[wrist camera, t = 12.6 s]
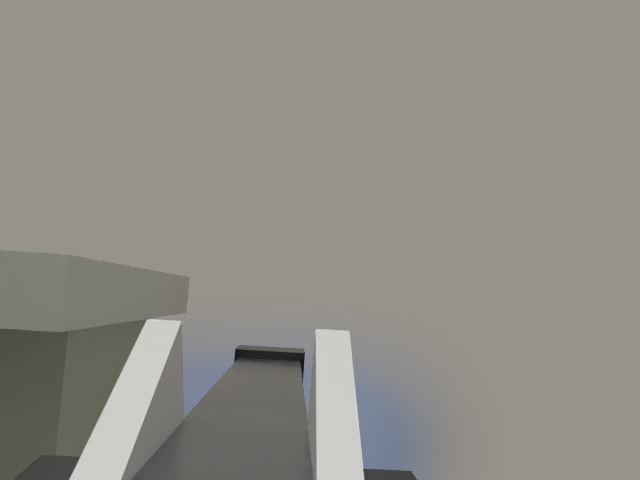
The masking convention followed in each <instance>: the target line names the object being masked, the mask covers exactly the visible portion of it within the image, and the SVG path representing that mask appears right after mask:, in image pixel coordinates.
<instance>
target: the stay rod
mask: <svg viewBox="0 0 640 480" xmlns="http://www.w3.org/2000/svg"><path fill="white" fill-rule="evenodd" d="M304 356H305V352H304V349H297V348H280V347H263V346H245V345H239V346H238V347H237V348H236V349H235V361H234V364H233V365H232V366H231V367H230V368H229V369H228V370H227V372H226V373H225V374H224V375H223V376H222V377H221V378H220V379H219V381H218V382H217V383H216V384H215V385H214V386H213V387H212V388H211V389H210V391H209V392H208V393H207V394H206V395H205V396H204V397H203V398H202V399H201V401H200V402H199V403H198V404H197V405H196V406H195V407H194V408H193V410H192V411H191V412H190V413H189V414H188V415H187V416H186V417H185V418H184V420H183V422H182V423H181V424H180V425H179V426H178V427H177V428H176V430H175V431H174V432H173V433H172V434H171V435H170V436H169V437H168V439H167V440H166V441H165V442H164V443H163V444H162V445H161V446H160V448H159V449H158V450H157V451H156V452H155V453H154V454H153V456H152V457H151V458H150V459H149V460H148V461H147V462H146V463H145V465H144V466H143V467H142V468H141V469H140V470H139V471H138V472H137V474H136V475H135V476H134V477H133V478H132V479H131V480H313V471H312V462H311V454H310V445H309V436H308V422H307V413H306V405H305V398H304V389H303V372H304Z"/></svg>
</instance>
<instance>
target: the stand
mask: <svg viewBox="0 0 640 480" xmlns="http://www.w3.org/2000/svg"><path fill="white" fill-rule="evenodd" d="M188 288H189V277H185V276H180V275H174V274H169V273H164V272H158V271H153V270H147V269H142V268H137V267H130V266H126V265H120V264H115V263H110V262H104V261H98V260H93V259H87V258H82V257H76V256H71V255H62V254H47V253H32V252H17V251H2V250H0V480H14V479H15V478H16V476H18V475H19V474H20V473H21V472H22V471H23V470H24V469H26V468H27V467H28V466H29V465H30V464H31V463H32V462H34V461H35V460H36V459H37V458H38V457H39V456H40V455H57V456H77V457H81V455H82V453H83V450H84V448H85V446H86V444H87V442H88V440H89V438H90V436H91V434H92V432H93V430H94V428H95V426H96V424H97V422H98V420H99V417H100V415H101V413H102V411H103V409H104V407H105V405H106V403H107V401H108V399H109V397H110V395H111V393H112V391H113V389H114V387H115V385H116V382H117V380H118V378H119V376H120V374H121V372H122V370H123V368H124V366H125V364H126V362H127V360H128V358H129V356H130V354H131V352H132V349H133V347H134V345H135V343H136V341H137V339H138V337H139V335H140V333H141V331H142V329H143V327H144V325H145V323H146V321H147V319H150V318H155V317H161V316H168V315H175V314H180V313H186V311H187V300H188Z"/></svg>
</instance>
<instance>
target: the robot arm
mask: <svg viewBox="0 0 640 480" xmlns="http://www.w3.org/2000/svg"><path fill="white" fill-rule="evenodd" d="M182 362H183V361H182V322H181V321H171V320H154V319H147V321H146V323H145V325H144V327H143V329H142V331H141V333H140V335H139V337H138V339H137V341H136V343H135V345H134V347H133V349H132V352H131V354H130V356H129V358H128V360H127V362H126V364H125V366H124V368H123V370H122V372H121V374H120V376H119V378H118V380H117V382H116V385H115V387H114V389H113V391H112V393H111V395H110V397H109V399H108V401H107V403H106V405H105V407H104V409H103V411H102V413H101V415H100V417H99V420H98V422H97V424H96V426H95V428H94V430H93V432H92V434H91V436H90V438H89V440H88V442H87V444H86V446H85V448H84V450H83V453H82V455H81V457H77V456H57V455H40V456H39V457H38V458H37V459H36V460H35V461H34V462H32V463H31V464H30V465H29V466H28V467H27V468H26V469H24V470H23V471H22V472H21V473H20V474H19V475H18V476H16V478H15V479H14V480H131V479H132V478H133V477H134V476H135V475H136V474H137V472H138V471H139V470H140V469H141V468H142V467H143V466H144V465H145V463H146V462H147V461H148V460H149V459H150V458H151V457H152V456H153V454H154V453H155V452H156V451H157V450H158V449H159V448H160V446H161V445H162V444H163V443H164V442H165V441H166V440H167V439H168V437H169V436H170V435H171V434H172V433H173V432H174V431H175V430H176V428H177V427H178V426H179V425H180V424H181V423H182V422H183V419H184V401H183V400H184V399H183V363H182ZM308 436H309V445H310V454H311V462H312V471H313V480H417V479H416V478H415V476H414V475H413V473H412V472H411V471H399V470H397V471H396V470H378V469H363V463H362V452H361V442H360V432H359V422H358V413H357V403H356V393H355V383H354V373H353V363H352V353H351V343H350V333H349V331H341V330H324V329H316V332H315V343H314V356H313V366H312V378H311V390H310V401H309V413H308Z"/></svg>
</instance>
